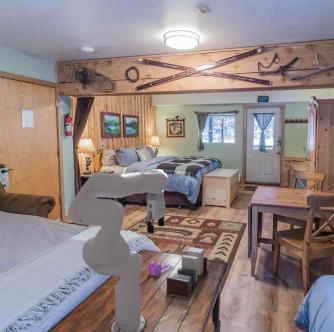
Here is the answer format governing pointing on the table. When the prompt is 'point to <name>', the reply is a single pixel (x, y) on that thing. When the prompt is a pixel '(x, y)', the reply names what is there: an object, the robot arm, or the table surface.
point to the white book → (190, 263)
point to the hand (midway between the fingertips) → (155, 229)
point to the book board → (183, 283)
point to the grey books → (186, 276)
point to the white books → (200, 254)
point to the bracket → (157, 268)
